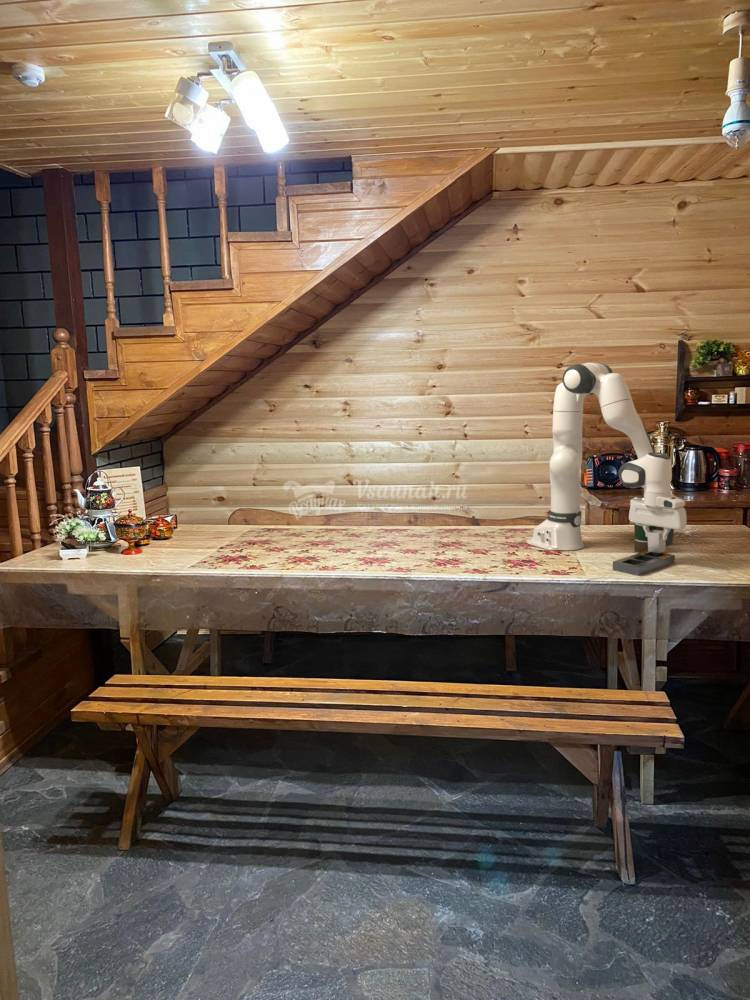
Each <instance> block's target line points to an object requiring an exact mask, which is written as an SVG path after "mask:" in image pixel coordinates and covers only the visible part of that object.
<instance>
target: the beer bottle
mask: <svg viewBox="0 0 750 1000" xmlns="http://www.w3.org/2000/svg"><path fill="white" fill-rule="evenodd" d="M641 492H642V493H641V494H642V495H641V498H644V488H643V487H642V488H641ZM648 528H649V530H650V531H652V530H657V526H651V525H650V526H649V527H648ZM633 545H634V546H633V548H634V550H633V551H634V552H635V553H637V552H638V553H640V552H643V551H647V550H648V537H646V532H645V531H644V529H643V524H638V523H635V529H634V544H633ZM638 553H637V554H638Z"/></svg>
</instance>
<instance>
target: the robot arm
mask: <svg viewBox="0 0 750 1000" xmlns="http://www.w3.org/2000/svg"><path fill="white" fill-rule="evenodd" d="M587 395H591V396H592V395H595V396H596V397H597V399H598V403H599V407H600V410H601V414H602V417H603V420H604V422H605V423H606V424H607V426H609V428H612V429H614V430H617V431H619V432H622V433H623V434H625V435H626V436H627V437H628V438H629V439H630V441H631V443H632V447H633V448H634V449H633V450H634V451H635V454H636V457H637V459H635V460H630V461H628V462H625V463H623V464H622V465H621V466H620V468H619V470H618V479H619V481H620V483H621V484H622V486H624V487H625V488H627V489H628V488H629V489H637V488H642V489H643V488H644V498H642V497H640V496H634V497H632V498H631V499H630V502H629V505H630V507H629V511H628V520H629V522H630V523H633V524H634V523H638V524H643V529H644V531H645V532H646V537H648V534H647V532H649V531H650V530H649V528H648V527H649V526H650V525H651V526H657V527H664V531H665V532H664V534H662V535H661V538H660V539H661V540H667V535H668V533H669V532H670V530H671V529H674V530H677V531H682V530H684V529H685V528H686V526H687V521H688V519H687V511H686V508H685V506H686V501H685V500H684V499H682V498H681V497H678V496H676V495H674V494H672V488H671V482H672V479H673V467H672V460H671V457H670V456H669V455H667V454H666V453H663V452H656V451H655V449H654V446H653V444H652V440H651V437H650V436H649V433H648V430H647V427H646V425H645V424H644V421H643V420H642V418H641V417H640V416H639V414H638V412H637V409H636V407H635V405H634V400H633V398H632V394H631V392H630V388H629V386H628V384H627V382H626V380H625V378H624V376H623V375H621V374H620V373H616V372H613V370H612V368H611V367H610V366H608V365H607V364H604V363H601V362H586V363H585V362H584V363H576V364H573V365H571V366H568V367H567V368H566V369H564V372H563V374H562V382H560V383H559V384H557V386H556V388H555V393H554V397H553V405H552V406H553V407H552V426H551V428H552V431H551V432H552V446H553V447H552V448H553V449H552V455H551V457H550V458H549V465H548V466H549V481H550V482H549V483H550V510H548V511H545V512H544V515H545V516H546V517H547V518H546V519H544V520H543V521H542V522H541V523H539V524H538V525H537V526H535V527H534V529H533V532H532V537H531V538H529V539H527V541H526V544H529V545H531V546H535V547H538V548H542V549H544V550H547V551H574V550H580V549H584V547H585V545H584V541H583V537H582V529H581V522H582V511H581V482H580V467H581V465H582V463H583V422H584V421H583V420H584V414H583V413H584V401H585V400H584V399H585V398H586V396H587Z"/></svg>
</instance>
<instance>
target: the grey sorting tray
mask: <svg viewBox="0 0 750 1000" xmlns="http://www.w3.org/2000/svg"><path fill="white" fill-rule="evenodd" d="M675 557H676V556H675V554H672V553H668V552H664V551H663V552H661V553H655V552H648V550H647V551H643V552H640V553H636V554H635V553H634V554H632V555H629V556H626V557H622V558H620V559H616V560H614V561H612V571H614V572H620V573H623V574H629V575H632V576H633V575H634V576H637V577H640V576H643V575H646V574H649V573H651V572H654V571H657V570H659V569H662V568H665V567H668V566H671V565H674V564H676V563H675V562H676V561H675V560H676V559H675Z"/></svg>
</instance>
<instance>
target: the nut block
mask: <svg viewBox="0 0 750 1000" xmlns="http://www.w3.org/2000/svg"><path fill="white" fill-rule="evenodd" d="M664 532H665V531H660V530H652V531H649V532H647V534H648V552H655V553H661V552H663V553H664V552H665V551H666V550H667V545H666V543H665V540H661V539H660V538H661V535H662V534H664Z"/></svg>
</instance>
